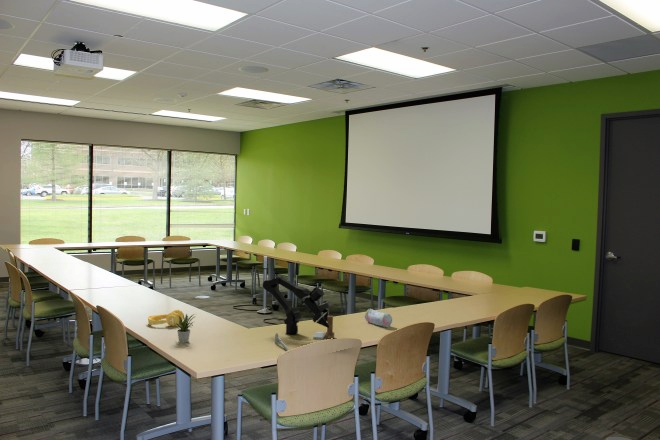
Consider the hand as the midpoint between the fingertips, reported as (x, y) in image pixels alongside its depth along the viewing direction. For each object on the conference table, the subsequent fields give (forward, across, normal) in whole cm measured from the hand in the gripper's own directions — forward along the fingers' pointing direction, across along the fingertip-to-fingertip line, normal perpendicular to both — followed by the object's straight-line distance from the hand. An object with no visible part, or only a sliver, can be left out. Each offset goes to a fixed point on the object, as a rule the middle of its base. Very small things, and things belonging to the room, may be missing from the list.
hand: (330, 325), depth 306 cm
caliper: (-9, -28, +20) cm, 36 cm away
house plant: (-49, -31, +59) cm, 83 cm away
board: (0, +2, +10) cm, 11 cm away
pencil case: (+22, +44, -10) cm, 50 cm away
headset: (-72, +2, +82) cm, 109 cm away
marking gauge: (+5, 0, +6) cm, 8 cm away
